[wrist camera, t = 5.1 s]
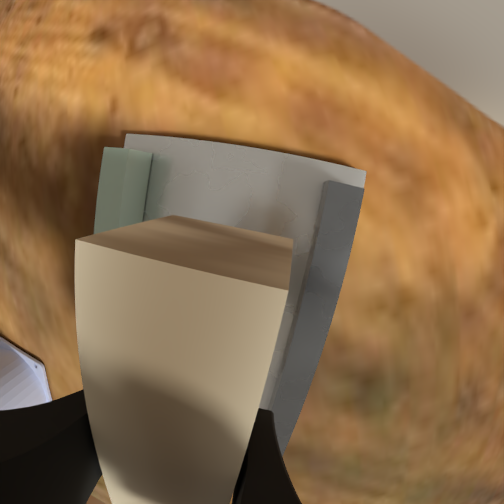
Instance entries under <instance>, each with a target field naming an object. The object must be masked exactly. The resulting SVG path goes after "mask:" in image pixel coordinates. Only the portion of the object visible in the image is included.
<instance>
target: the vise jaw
mask: <svg viewBox="0 0 504 504" xmlns="http://www.w3.org/2000/svg"><path fill="white" fill-rule="evenodd" d="M152 154H153V153H148V152H143V151H138V150H133V149H126V148H114V147H104V152H103V158H102V164H101V171H100V178H99V186H98V194H97V203H96V213H95V225H94V234H97V233H101V232H105V231H109V230H112V229H116V228H120V227H124V226H128V225H132V224H136V223H141V222H143V213H144V205H145V198H146V191H147V184H148V178H149V171H150V165H151V159H152Z"/></svg>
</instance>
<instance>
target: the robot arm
mask: <svg viewBox="0 0 504 504" xmlns="http://www.w3.org/2000/svg"><path fill="white" fill-rule="evenodd" d="M101 476H102V470H101V467H100V463H99V460H98V456H97V452H96V448H95V444H94V440H93V436H92V431H91V427H90V422H89V417H88V412H87V407H86V401H85V395H84V389H83V390H81V391H78V392H76V393H73V394H70V395H68V396H65V397H62V398H60V399H57V400H54V401H52V398H51V394H50V390H49V385H48V381H47V376H46V372H45V367H44V365H43V364H42V363H41V362H40V361H38V360H36V359H35V358H33V357H31V356H30V355H28V354H26V353H25V352H23V351H22V350H20V349H18V348H17V347H15V346H14V345H12V344H11V343H9V342H8V341H6V340H5V339H3V338H2V337H0V504H86V502H87V500H88V498H89V496H90V495H91V493H92V491H93V489H94V487H95V486H96V484H97V482H98V480H99V479H100V477H101ZM232 504H302V503H301V501H300V499H299V498H298V496H297V494H296V491H295V489H294V487H293V485H292V482H291V480H290V478H289V475H288V472H287V470H286V467H285V464H284V461H283V458H282V454H281V451H280V448H279V444H278V440H277V435H276V430H275V423H274V413H273V412H272V411H271V410H266V409H261V408H258V411H257V415H256V418H255V422H254V425H253V429H252V432H251V436H250V439H249V442H248V446H247V449H246V452H245V456H244V459H243V462H242V465H241V469H240V472H239V475H238V478H237V481H236V485H235V488H234V492H233V499H232Z"/></svg>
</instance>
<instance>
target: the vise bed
mask: <svg viewBox="0 0 504 504" xmlns="http://www.w3.org/2000/svg"><path fill="white" fill-rule="evenodd" d="M124 148H126V149H133V150H138V151H143V152H148V153H153V154H152V159H151V165H150V171H149V178H148V184H147V191H146V198H145V205H144V213H143V222H145V221H149V220H153V219H157V218H162V217H166V216H170V215H177V216H182V217H187V218H192V219H197V220H202V221H207V222H212V223H217V224H222V225H227V226H232V227H237V228H242V229H247V230H252V231H257V232H262V233H266V234H271V235H276V236H281V237H285V238H290V239H293V250H292V261H291V272H290V282H289V291H288V295H287V300H286V304H285V308H284V312H283V316H282V320H281V324H280V328H279V332H278V336H277V340H276V344H275V348H274V352H273V356H272V360H271V364H270V367H269V371H268V375H267V379H266V382H265V386H264V390H263V393H262V397H261V401H260V404H259V408H261V409H266V410H271V411H272V412H273V413H274V423H275V430H276V435H277V440H278V444H279V448H280V451H281V454H282V456H283V453H284V451H285V449H286V446H287V444H288V442H289V439H290V437H291V434H292V432H293V429H294V427H295V424H296V422H297V419H298V417H299V414H300V412H301V409H302V406H303V404H304V401H305V399H306V396H307V393H308V390H309V388H310V385H311V382H312V379H313V376H314V374H315V371H316V368H317V365H318V362H319V359H320V356H321V353H322V350H323V347H324V344H325V341H326V337H327V334H328V331H329V328H330V325H331V321H332V318H333V315H334V311H335V308H336V304H337V301H338V297H339V294H340V290H341V287H342V283H343V279H344V275H345V272H346V268H347V264H348V260H349V256H350V252H351V248H352V244H353V240H354V235H355V231H356V227H357V222H358V218H359V213H360V208H361V203H362V199H363V194H364V183H365V177H366V172H367V171H363V170H359V169H355V168H351V167H347V166H343V165H339V164H334V163H330V162H326V161H321V160H316V159H312V158H307V157H302V156H297V155H292V154H287V153H282V152H276V151H271V150H265V149H259V148H253V147H247V146H240V145H234V144H227V143H219V142H212V141H204V140H195V139H186V138H177V137H166V136H155V135H141V134H126V138H125V143H124Z"/></svg>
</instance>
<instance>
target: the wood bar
mask: <svg viewBox="0 0 504 504" xmlns="http://www.w3.org/2000/svg"><path fill="white" fill-rule="evenodd" d="M292 250H293V239H290V238H285V237H281V236H276V235H271V234H266V233H262V232H257V231H252V230H247V229H242V228H237V227H232V226H227V225H222V224H217V223H212V222H207V221H202V220H197V219H192V218H187V217H182V216H177V215H170V216H166V217H162V218H157V219H153V220H149V221H145V222H141V223H136V224H132V225H128V226H124V227H120V228H116V229H112V230H109V231H105V232H101V233H97V234H93V235H89V236H86V237H82V238H78V239H75V310H76V327H77V340H78V350H79V360H80V368H81V375H82V382H83V389H84V395H85V401H86V407H87V412H88V417H89V422H90V427H91V431H92V436H93V440H94V444H95V448H96V452H97V456H98V460H99V463H100V467H101V470H102V474H103V477H104V480H105V484H106V487H107V490H108V493H109V496H110V499H111V502H112V504H229V503H230V500H231V497H232V494H233V491H234V488H235V485H236V481H237V478H238V475H239V472H240V469H241V465H242V462H243V459H244V456H245V452H246V449H247V446H248V442H249V439H250V436H251V432H252V429H253V425H254V422H255V418H256V415H257V411H258V408H259V404H260V401H261V397H262V393H263V390H264V386H265V382H266V379H267V375H268V371H269V367H270V364H271V360H272V356H273V352H274V348H275V344H276V340H277V336H278V332H279V328H280V324H281V320H282V316H283V312H284V308H285V304H286V300H287V295H288V291H289V282H290V272H291V261H292Z"/></svg>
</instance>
